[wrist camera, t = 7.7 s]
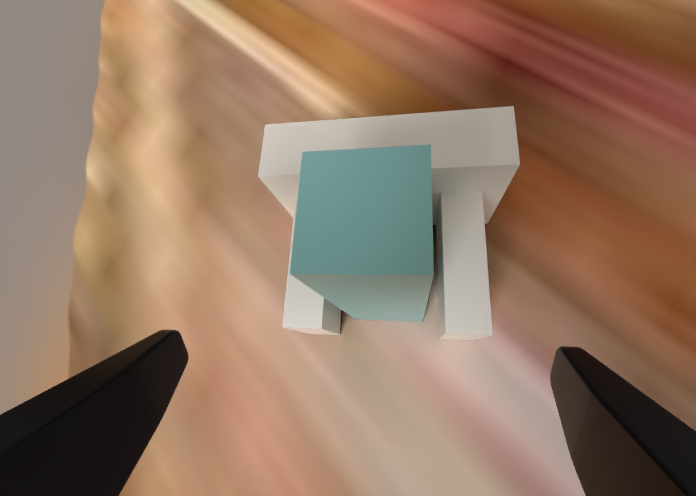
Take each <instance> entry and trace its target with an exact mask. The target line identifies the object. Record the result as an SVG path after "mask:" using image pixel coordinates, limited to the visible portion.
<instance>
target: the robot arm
mask: <svg viewBox="0 0 696 496" xmlns="http://www.w3.org/2000/svg"><path fill="white" fill-rule="evenodd" d="M187 362H188V352H187V349H186V347H185V344H184V342H183V339H182V336H181V334H180V333H179V332H178V331H176V330H160V331H158V332H156V333H155V334H153V335H151V336H149V337H147V338H145V339H143V340H141V341H139V342H137V343H136V344H134V345H132V346H130V347H128V348H126V349H124V350H122V351H120V352H119V353H117V354H115V355H113V356H111V357H109V358H107V359H105V360H103V361H101V362H100V363H98V364H96V365H94V366H92V367H90V368H88V369H86V370H84V371H82V372H81V373H79V374H77V375H75V376H73V377H71V378H69V379H67V380H65V381H64V382H62V383H60V384H58V385H56V386H54V387H52V388H50V389H48V390H46V391H45V392H43V393H41V394H39V395H37V396H35V397H33V398H32V399H30V400H28V401H26V402H24V403H22V404H20V405H18V406H16V407H14V408H12V409H11V410H9V411H7V412H5V413H3V414H1V415H0V496H119V494H120V493H121V491H122V489H123V487H124V486H125V484H126V482H127V480H128V478H129V477H130V475H131V473H132V471H133V470H134V468H135V466H136V464H137V463H138V461H139V459H140V457H141V455H142V454H143V452H144V450H145V448H146V447H147V445H148V443H149V441H150V440H151V438H152V436H153V434H154V432H155V431H156V429H157V427H158V425H159V423H160V421H161V420H162V418H163V416H164V413H165V411H166V409H167V407H168V405H169V403H170V400H171V398H172V396H173V394H174V392H175V389H176V387H177V385H178V383H179V381H180V378H181V376H182V374H183V372H184V369H185V367H186V365H187ZM550 381H551V387H552V390H553V394H554V398H555V401H556V405H557V409H558V412H559V416H560V420H561V423H562V427H563V431H564V434H565V438H566V442H567V445H568V449H569V452H570V455H571V459H572V461H573V464H574V467H575V470H576V472H577V475H578V477H579V480H580V482H581V485H582V488H583V490H584V493H585V495H586V496H696V431H695V430H693V429H692V428H690V427H689V426H688V425H686V424H685V423H684V422H682V421H681V420H679V419H678V418H677V417H675V416H674V415H673V414H671V413H670V412H668V411H667V410H666V409H664V408H663V407H662V406H660V405H659V404H657V403H656V402H655V401H653V400H652V399H651V398H649V397H648V396H646V395H645V394H644V393H642V392H641V391H640V390H638V389H637V388H636V387H634V386H633V385H631V384H630V383H629V382H627V381H626V380H625V379H623V378H622V377H620V376H619V375H618V374H616V373H615V372H614V371H612V370H611V369H609V368H608V367H607V366H605V365H604V364H603V363H601V362H600V361H598V360H597V359H596V358H594V357H593V356H592V355H590V354H589V353H587V352H586V351H585V350H583V349H582V348H579V347H565V346H561V347H559V348H558V349H557V350H556V353H555V357H554V362H553V366H552V370H551V375H550Z"/></svg>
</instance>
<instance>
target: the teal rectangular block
mask: <svg viewBox="0 0 696 496" xmlns="http://www.w3.org/2000/svg"><path fill="white" fill-rule="evenodd" d="M290 274H291V275H292V276H294V277H295V278H296V279H298V280H299V281H301V282H302V283H304V284H305V285H307V286H308V287H309V288H311V289H312V290H314V291H315V292H317V293H318V294H319V295H321V296H322V297H324V298H325V299H327V300H328V301H330V302H331V303H332V304H334V305H335V306H337V307H338V308H340V309H341V310H342V311H344V312H345V313H347V314H348V315H350V316H351V317H353V318H354V319H356V320H386V321H415V322H423V318H424V314H425V310H426V306H427V301H428V297H429V293H430V289H431V285H432V281H433V276H434V263H433V218H432V173H431V144H429V145H412V146H394V147H377V148H359V149H342V150H324V151H307V152H302V160H301V170H300V180H299V189H298V199H297V209H296V219H295V228H294V238H293V248H292V257H291V267H290Z"/></svg>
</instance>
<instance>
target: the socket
mask: <svg viewBox="0 0 696 496" xmlns="http://www.w3.org/2000/svg"><path fill="white" fill-rule="evenodd" d="M429 144H431V173H432V218H433V225H436V249H437V285H438V322H439V339H456V340H478V339H481V338H484V337H488V336H491V335H493V334H492V320H491V306H490V292H489V278H488V264H487V251H486V237H485V224H488V222H489V220H490V219H491V217H492V215H493V213H494V211H495V209H496V208H497V206H498V204H499V202H500V200H501V198H502V197H503V195H504V193H505V191H506V189H507V187H508V186H509V184H510V182H511V180H512V178H513V176H514V175H515V173H516V171H517V169H518V167H519V165H520V159H519V150H518V141H517V132H516V123H515V114H514V106H508V107H494V108H481V109H468V110H454V111H441V112H428V113H414V114H401V115H388V116H374V117H361V118H348V119H334V120H321V121H308V122H294V123H281V124H268V125H265V131H264V138H263V145H262V152H261V159H260V167H259V174H258V177H259V178H260V179H261V180H262V182H263V183H264V184H265V185H266V186H267V188H268V189H269V190H270V191H271V192H272V193H273V195H274V196H275V197H276V198H277V199H278V201H279V202H280V203H281V204H282V205H283V206H284V208H285V209H286V210H287V211H288V212H289V214H290V215H291V216H292V217H293V228H292V238H291V247H290V257H289V267H288V277H287V286H286V296H285V306H284V316H283V325H282V327H284V328H288V329H292V330H296V331H300V332H304V333H308V334H331V335H340V325H341V309H340V308H338V307H337V306H335V305H334V304H332V303H331V302H330V301H328V300H327V299H325V298H324V297H322V296H321V295H319V294H318V293H317V292H315V291H314V290H312V289H311V288H309V287H308V286H307V285H305V284H304V283H302V282H301V281H299V280H298V279H296V278H295V277H294V276H292V275H291V274H290V267H291V257H292V248H293V238H294V228H295V219H296V209H297V199H298V189H299V180H300V170H301V160H302V152H307V151H324V150H342V149H359V148H377V147H394V146H412V145H429Z"/></svg>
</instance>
